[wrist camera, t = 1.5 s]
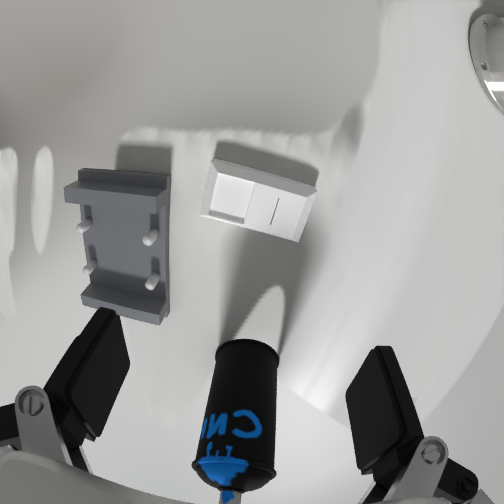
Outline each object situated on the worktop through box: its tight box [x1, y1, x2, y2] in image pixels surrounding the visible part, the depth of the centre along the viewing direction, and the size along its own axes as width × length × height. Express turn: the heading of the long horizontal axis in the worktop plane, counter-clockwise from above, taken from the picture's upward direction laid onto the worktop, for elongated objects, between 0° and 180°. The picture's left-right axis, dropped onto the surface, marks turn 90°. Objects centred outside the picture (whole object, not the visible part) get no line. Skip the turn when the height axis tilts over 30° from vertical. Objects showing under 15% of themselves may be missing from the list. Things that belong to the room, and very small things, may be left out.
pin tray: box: [64, 168, 171, 325], centre depth 26 cm, size 16×10×4 cm, turn 172°
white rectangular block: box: [199, 159, 317, 242], centre depth 24 cm, size 5×9×3 cm, turn 75°
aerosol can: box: [192, 339, 279, 504], centre depth 26 cm, size 8×8×20 cm
